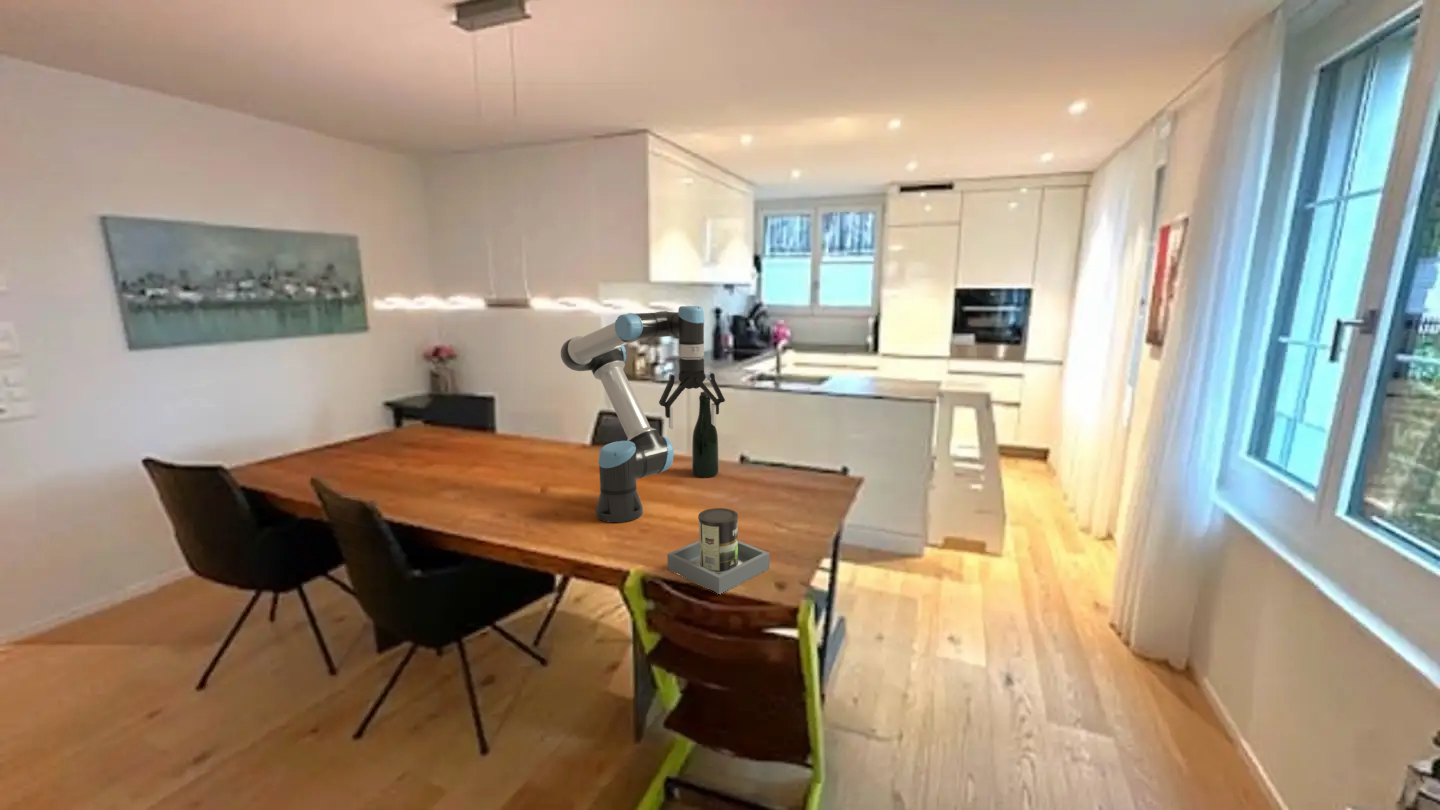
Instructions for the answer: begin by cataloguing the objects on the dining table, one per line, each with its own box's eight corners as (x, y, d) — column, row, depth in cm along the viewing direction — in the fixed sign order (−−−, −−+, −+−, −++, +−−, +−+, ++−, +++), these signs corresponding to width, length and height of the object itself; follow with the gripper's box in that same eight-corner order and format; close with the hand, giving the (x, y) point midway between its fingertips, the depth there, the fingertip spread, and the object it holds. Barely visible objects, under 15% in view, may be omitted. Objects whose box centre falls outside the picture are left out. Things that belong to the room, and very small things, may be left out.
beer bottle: (694, 469, 244) (693, 389, 237) (719, 470, 243) (719, 389, 236) (690, 478, 234) (689, 394, 227) (717, 478, 233) (717, 394, 226)
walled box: (719, 595, 146) (719, 578, 146) (667, 569, 159) (667, 553, 159) (769, 568, 160) (769, 552, 159) (718, 547, 173) (718, 532, 172)
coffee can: (738, 556, 164) (738, 507, 161) (738, 574, 154) (737, 522, 151) (700, 556, 165) (699, 507, 162) (698, 574, 154) (696, 522, 152)
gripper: (653, 361, 175) (654, 432, 179) (734, 357, 182) (734, 426, 186) (648, 358, 182) (650, 426, 186) (727, 354, 189) (727, 420, 193)
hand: (692, 426), depth 186 cm, fingers open, 13 cm apart
